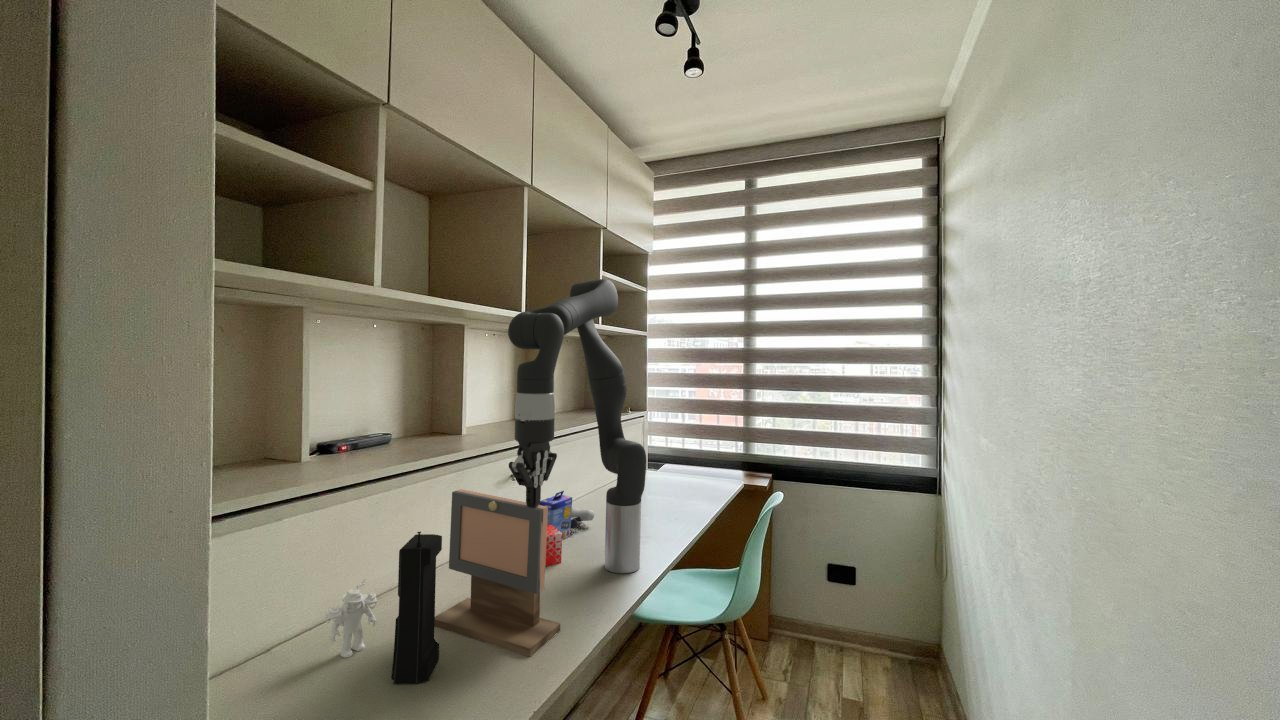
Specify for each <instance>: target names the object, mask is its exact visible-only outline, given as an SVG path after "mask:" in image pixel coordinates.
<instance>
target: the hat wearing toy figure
mask: <svg viewBox="0 0 1280 720" xmlns="http://www.w3.org/2000/svg"><path fill="white" fill-rule="evenodd" d="M366 580H367V579H366V578H365V579H363V581H361V582H360V583H359V584H357V585H356V586H355V587H356V588H351V589H349V590H347V592H346V593H344V595H343V596H342V598H341V601H342V602H344V603H343V604H342V606H341V607H339V605H333V606H332V607H331V606H330V607H329V608H328V610H327V611H326V612H325V614H324V615H325V616H324V617H325V621H326V624H329V623H330V621H331V620H332V621H333V623H332V625H331V628H330V634H329V640H330V641H331V643H335V642H336V639H335V638H336V636H337V635H338V636H341V633H342V645H341V647H340V651H339V656H340V657H342V658H349V657H352V656H353V649H355V650H354V651H357V652H360V651H364V650H365V649H366V644H364V642H363V639H364V636H363V626H362V618H363V614H365V616H366V617H368V621H367V625H370V623H372V627H375V626H376V625H377V618H376V616H375V615H374V612H373V611H372V610H371V609H374V608H375V607H376V606H377V604H378V600H377V594H376V593H375V592H369V593H367V594H364V593H361V591H360V590H362V587H363V586H364V585H365V583H366ZM371 605H373V606H371ZM328 619H329V620H328ZM339 626H340V627H343V629H342V631H341V632H340V631H339V630H338V628H339ZM352 635H353V637H354V639H353V642H352Z"/></svg>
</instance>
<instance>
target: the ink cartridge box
mask: <svg viewBox="0 0 1280 720" xmlns="http://www.w3.org/2000/svg"><path fill="white" fill-rule="evenodd" d="M564 491H565V490H561V491H559V492H556V493H555V495H553V496H552V497H547V498H545V499H542V500H540V505H542V506H547V507H548V519H547V525H553V526H554V527H555V528H556V529H557V530H558V531H560V532H561V533H562V541H563V540H565V539H568V538H570V537H571V529H572V528H571V513H572V508H573V497H572V496H570V495H569V496H568V495H564Z"/></svg>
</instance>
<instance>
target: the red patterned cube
mask: <svg viewBox="0 0 1280 720" xmlns="http://www.w3.org/2000/svg"><path fill="white" fill-rule="evenodd" d="M562 543H563V540H562V533H561V532H560V531H558V530H557V529H556V528H555V527H554V526H553V525H547V540H546V562H545V567H546V566H553V565H556V564H561V563H562V554H563V553H562V551H563V550H562V547H563V544H562Z"/></svg>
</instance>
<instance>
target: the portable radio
mask: <svg viewBox="0 0 1280 720" xmlns="http://www.w3.org/2000/svg"><path fill="white" fill-rule="evenodd" d="M416 533H417V534H415V535H414V536H412V537H411V538H410V539H409V540H408V541H407V542H406V543H405V544H404V545H403V546H402V547H401V548H400V549H399V551H398V577H397V579H398V582H397V596H398V614H397V615H398V616H397V617H396V619H395V626H394V627H395V629H394V645H393V658H392V668H391V675H390V676H391V677H390V678H391V681H393V685H410V684H411V685H415V684H420V683H421V684H422V683H425V682H429V681H430V679H431V677H432V675H433V673H434V671H435V669H436V667H437V665H438V663H439V661H440V642H438V641H436V639H435V628H436V627H435V616H436V579H437V578H436V576H437V556H438V555H439V554H440V553H441V551H442V550H443V536H442V535H439V534H431V533H430V534H428V533H427V534H424V533H423V534H422V531H417V532H416Z"/></svg>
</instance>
